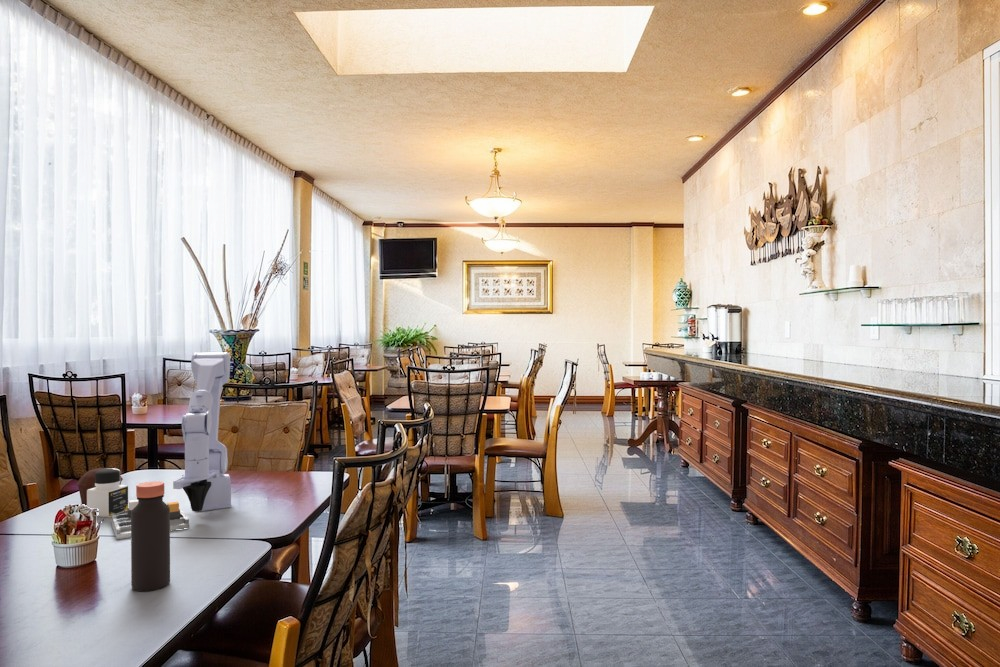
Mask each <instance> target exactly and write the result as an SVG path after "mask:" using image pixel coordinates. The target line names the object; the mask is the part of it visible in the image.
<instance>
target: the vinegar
mask: <svg viewBox="0 0 1000 667" xmlns="http://www.w3.org/2000/svg"><path fill="white" fill-rule="evenodd" d="M135 486H136V500H138V504H137V506H136V507H135V508H134V509H133V510H132V511H131V538H130V543H131V544H130V546H131V547H130V552H131V553H130V557H131V558H130V559H131V560H130V562H131V564H130V567H131V568H130V569H131V572H130V575H131V578H130V580H131V589H132V590H134V591H135V592H151V591H152V592H153V591H156V590H160V589H163V588H165V587H166V586H168V585H169V584H170V583H171V531H170V508H169V506H168V505H167V503H166V502H165V501H163V499H164V497H165V482H164V481H160V480H159V481H156V480H155V481H146V482H140V483H138V484H136V485H135Z"/></svg>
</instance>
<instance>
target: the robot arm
mask: <svg viewBox="0 0 1000 667" xmlns="http://www.w3.org/2000/svg"><path fill="white" fill-rule="evenodd" d="M190 363H191V364H190V366H191V372H192V375H193V378H194V381H195V383H196V388H195V389H196V390H195V391H193V392H192V393H191V394H190V398H189V401H188V402H189V403H188V406H187V410H186V414H183V416H182V418H181V430H182V441H183V443H184V474H183V475H182V476H181V477H180V478H177V479H175V480H173V482H172V486H173V487H172V489H175V490H182V489H183V491H184V492H185V494H186V496H187V498H188V500H189V504H190V508H191V511H192V512H195V513H196V512H206V511H212V510H218V509H227V508H232V507H233V506H232V481H231V475H230V474H229V473H226V472H227V471H228V464H229V462H228V460H229V459H228V448H227V446H226V445H225V444H223V443H222V442H221V441H219V425H220V410H221V409H220V407H221V392H222V389H223V386H224V385H225V384H227V383H228V382H229V380H230V376H231V375H230V373H231V356H230V354H229V353H228V352H227V351H225V352H194V353H193V354H192V355H191V362H190Z"/></svg>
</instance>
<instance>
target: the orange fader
mask: <svg viewBox="0 0 1000 667" xmlns="http://www.w3.org/2000/svg"><path fill="white" fill-rule="evenodd" d="M166 504H167V505H168V506H169V508H170V519H177V518H181V515H180V510H179V507H180V503H179V501H173V502H172V501H171V502H167V503H166Z"/></svg>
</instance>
